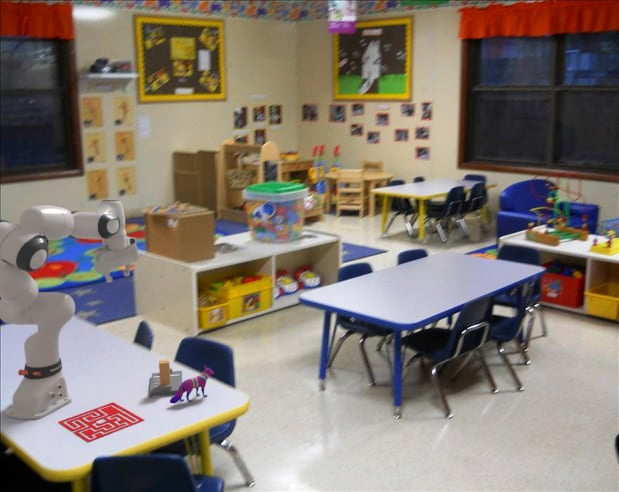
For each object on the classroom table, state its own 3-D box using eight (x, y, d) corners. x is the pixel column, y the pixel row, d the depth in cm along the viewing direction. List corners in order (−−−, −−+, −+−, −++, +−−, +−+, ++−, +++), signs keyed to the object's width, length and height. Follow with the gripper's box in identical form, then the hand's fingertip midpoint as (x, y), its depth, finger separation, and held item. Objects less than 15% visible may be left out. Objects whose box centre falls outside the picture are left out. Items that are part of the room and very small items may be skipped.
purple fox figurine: (218, 393, 256) (216, 365, 254) (172, 408, 245) (170, 380, 243) (212, 390, 259) (210, 362, 257) (167, 405, 248) (165, 376, 245)
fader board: (181, 393, 256) (181, 386, 256) (150, 397, 255) (149, 389, 254) (182, 374, 274) (181, 366, 273) (152, 377, 272) (151, 369, 271)
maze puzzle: (58, 423, 237) (58, 421, 237) (113, 403, 251) (113, 402, 251) (88, 443, 223) (88, 441, 223) (144, 421, 237) (144, 419, 237)
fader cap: (170, 386, 258) (168, 362, 256) (160, 387, 258) (158, 363, 256) (171, 382, 262) (169, 358, 260) (161, 383, 261) (159, 359, 259)
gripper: (101, 249, 258) (105, 286, 261) (139, 237, 276) (142, 273, 279) (88, 248, 261) (92, 285, 264) (126, 236, 278) (129, 271, 281)
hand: (118, 278), depth 271 cm, fingers open, 8 cm apart
